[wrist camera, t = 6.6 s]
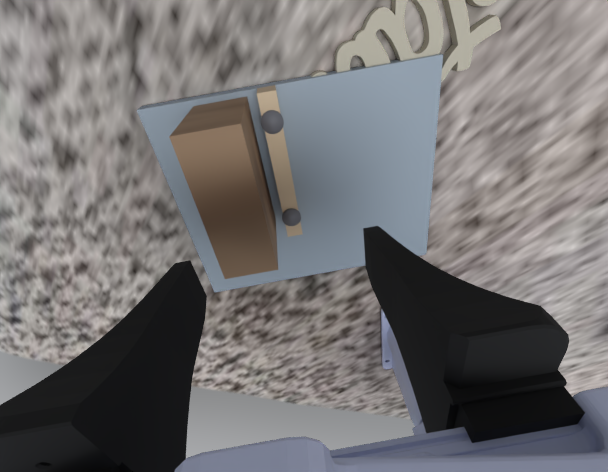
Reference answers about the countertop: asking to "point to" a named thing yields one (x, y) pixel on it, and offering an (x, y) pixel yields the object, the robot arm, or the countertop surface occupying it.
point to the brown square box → (229, 185)
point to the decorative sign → (395, 32)
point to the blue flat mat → (326, 163)
